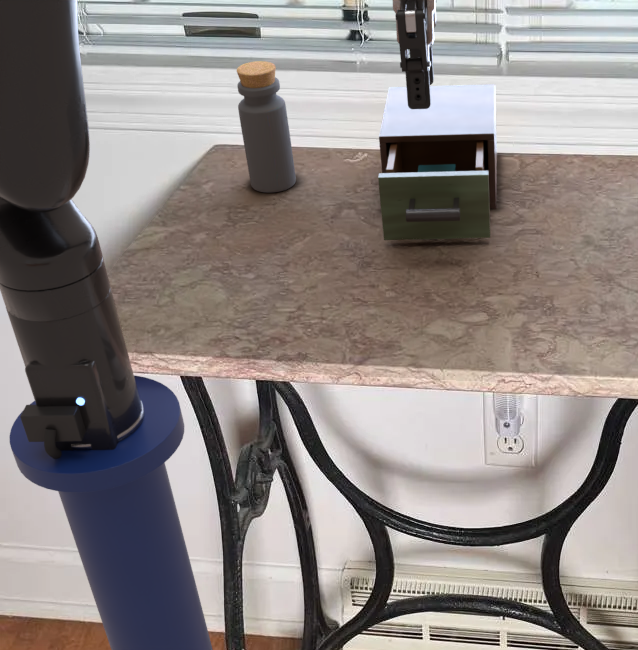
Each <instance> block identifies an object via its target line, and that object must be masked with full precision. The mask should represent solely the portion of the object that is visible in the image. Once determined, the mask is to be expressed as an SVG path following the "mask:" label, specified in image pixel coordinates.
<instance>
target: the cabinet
mask: <svg viewBox="0 0 638 650" xmlns="http://www.w3.org/2000/svg"><path fill="white" fill-rule="evenodd" d="M430 96H431V104H430V107H429V108H428V109H410V108H409V107H408V100H407V86H389V87H388V91H387V95H386V100H385V106H384V111H383V115H382V121H381V125H380V130H379V134H378V142H379V154H380V167H381V173H386V168H387V163H388V157H389V152H390V146H391V143H393V142H431V141H469V140H485V171H489V203H490V210H493V209H494V210H495V209H497V185H498V184H497V183H498V179H497V176H498V173H497V172H498V171H497V170H498V146H497V144H498V142H497V141H498V139H497V106H496V104H497V103H496V99H497V98H496V83H492V84H491V83H490V84H487V83H486V84H455V85H453V84H452V85H451V84H449V85H430Z"/></svg>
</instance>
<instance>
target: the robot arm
mask: <svg viewBox="0 0 638 650" xmlns="http://www.w3.org/2000/svg"><path fill="white" fill-rule="evenodd" d="M436 4H437V0H392V10H393V12H394V13H395V28H396V29H395V30H396V41H397V44H398V45H399V57H400V62H399V68H400V69H401V72H403V73H405V81H406V82H405V85H406V86H405V87H407V100H408V107H409V108H410V109H428V108H429V107H430V104H431V96H430V86H432V84H433V83H434V81H435V78H434V77H435V75H434V60H433V59H434V58H433V45H434V42H435V32H434V31H435V30H434V29H435V28H436V26H437V10H436ZM78 15H79V14H78V0H0V294H1V297H2V300H3V304H4V306H5V310H6V313H7V316H8V319H9V322H10V324H11V327H12V328H11V329H12V331H13V334H14V337H15V340H16V344H17V346H18V349H19V352H20V355H21V358H22V361H23V364H24V368H25V369H24V372H25V375H26V378H27V381H28V384H29V387H30V390H31V393H32V397H33V399H34V401H35V402H36V405H30V404H26V405H25V407H24V408H23V410H22V411H23V412H22V411H21V412H22V414H21V413H20V414H21V416H20V418H21V421H22V424H23V427H24V430H25V432H26V435H27V438H28V441H29V442H44V447H45V451H46V453H47V454H48V455H49V456H51V457H52V458H53V459H58V458H60V457H61V455H62V452H61V451H73V450H80V451H83V450H114V449H115V448H116V446H117V444H118V443H119V442H120V441H122V440H124V439H125V438H127V437H129V436H130V435H131V434H133V433H134V432H135V431H136V430H137V429H138V428H139V426H140V425H141V424H142V422H143V419H144V415H145V413H144V408H143V404H142V401H141V400H140V397H139V393H138V389H137V385H136V381H135V377H134V376H135V374H134V371H133V367H132V363H131V359H130V356H129V352H128V348H127V344H126V341H125V336H124V332H123V329H122V325H121V321H120V317H119V314H118V310H117V306H116V302H115V299H114V295H113V291H112V287H111V282H110V279H109V278H110V277H109V274H108V272H107V271H108V270H107V266H106V263H105V259H104V257H103V252H102V247H101V244H100V240H99V237H98V233H97V232H96V229H95V228H94V226H93V224H92V223H91V222H90V221H89V219H88V218H87V217H86V216H85V215H84V213H82V211H81V210H80V209H79V208H78V206H77V205H76V204H75V202H74V200H73V198H74V197H75V196H76V194H77V193H78V191H79V190H80V189H81V187H82V185H83V182H84V180H85V178H86V174H87V172H88V168H89V164H90V163H89V161H90V150H91V149H90V148H91V145H90V144H91V143H90V141H91V140H90V129H89V119H88V118H89V117H88V110H87V102H86V94H85V85H84V76H83V75H84V74H83V67H82V59H81V50H80V40H79V39H80V37H79V19H78V18H79V16H78Z"/></svg>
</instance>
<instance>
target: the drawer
mask: <svg viewBox="0 0 638 650" xmlns="http://www.w3.org/2000/svg"><path fill="white" fill-rule="evenodd" d="M444 164H455V165H456V171H450V172H418V166H419V165H444ZM377 179H378V180H377V181H378V193H379V202H380V212H381V213H380V214H381V225H382V236H383V241H407V240H408V241H409V240H412V241H413V240H448V239H449V240H451V239H455V240H456V239H490V238H491V209H490V203H489V171H485V140H469V141H431V142H393V143H391V146H390V152H389V157H388V163H387V168H386V173H382V172H379V173H378V176H377Z"/></svg>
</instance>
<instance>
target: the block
mask: <svg viewBox="0 0 638 650" xmlns="http://www.w3.org/2000/svg"><path fill="white" fill-rule="evenodd" d="M450 171H456V165H455V164H444V165H419V166H418V172H450Z"/></svg>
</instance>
